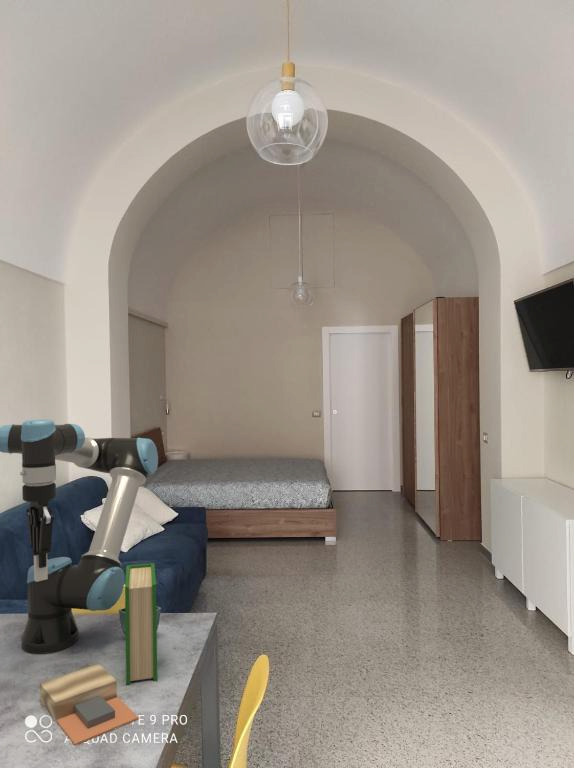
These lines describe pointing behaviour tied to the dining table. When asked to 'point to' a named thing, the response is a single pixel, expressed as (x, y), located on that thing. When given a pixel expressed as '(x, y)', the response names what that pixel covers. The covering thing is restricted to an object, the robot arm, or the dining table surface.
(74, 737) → the mat
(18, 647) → the dining table surface
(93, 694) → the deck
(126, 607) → the hardback book
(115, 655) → the dining table surface
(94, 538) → the robot arm
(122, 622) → the flower pot
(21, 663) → the dining table surface
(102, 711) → the gray flat block
